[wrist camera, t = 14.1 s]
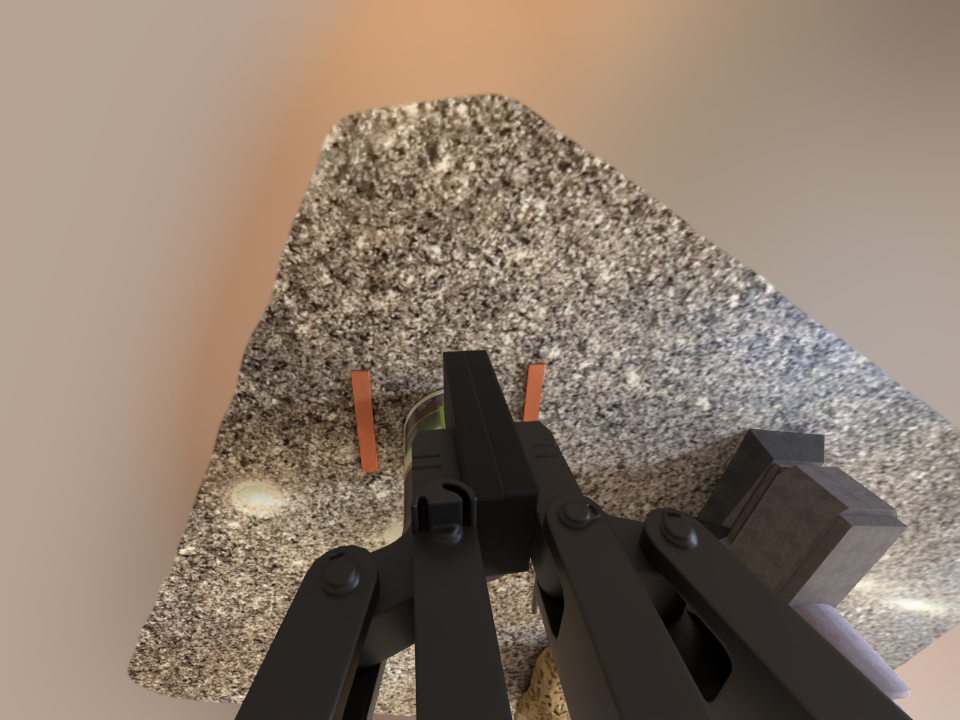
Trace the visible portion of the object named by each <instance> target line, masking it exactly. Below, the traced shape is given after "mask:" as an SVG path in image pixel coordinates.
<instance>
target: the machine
mask: <svg viewBox="0 0 960 720" xmlns="http://www.w3.org/2000/svg"><path fill="white" fill-rule="evenodd" d="M823 463H824V436H822V435H811V434H800V433H789V432H777V431H766V430H755V429H750V430H749V431H748V433H747V435H746V437H745V438H744V440H743V442H742V443H741V445H740V447H739V448H738V450H737V452H736V454H735V455H734V457H733V459H732V460H731V462H730V464H729V465H728V467H727V469H726V471H725V472H724V474H723V476H722V477H721V479H720V481H719V482H718V484H717V486H716V488H715V489H714V491H713V493H712V494H711V496H710V498H709V499H708V501H707V503H706V505H705V506H704V508H703V510H702V511H701V513H700V515H699V517H698V518H697V519H696V520H697V521H698V522H700V523H701V524H702V525H703V526H704V527H705V528H706V529H707V530H708V531H709V532H711V533H712V534H713V535H714V536H715V537H716V538H717V539H718V540H719V541H720V542H721V543H722V544H724V545H725V546H726V547H727V548H728V549H729V550H730V551H731V552H732V553H733V554H734V555H735V556H736V557H738V558H739V559H740V560H741V561H742V562H743V563H744V564H745V565H746V566H747V567H748V568H749V569H751V570H752V571H753V572H754V573H755V574H756V575H757V576H758V577H759V578H760V579H761V580H762V581H763V582H765V583H766V584H767V585H768V586H769V587H770V588H771V589H772V590H773V591H774V592H775V593H776V594H778V595H779V596H780V597H781V598H782V599H783V600H784V601H785V602H786V603H787V604H788V605H789V606H791V607H792V608H793V609H794V610H795V611H796V612H797V613H798V614H799V615H800V616H801V617H802V618H803V619H805V620H806V621H807V622H808V623H809V624H810V625H811V626H812V627H813V628H814V629H815V630H816V631H818V632H819V633H820V634H821V635H822V636H823V637H824V638H825V639H826V640H827V641H828V642H829V643H830V644H832V645H833V646H834V647H835V648H836V649H837V650H838V651H839V652H840V653H841V654H842V655H843V656H845V657H846V658H847V659H848V660H849V661H850V662H851V663H852V664H853V665H854V666H855V667H856V668H857V669H859V670H860V671H861V672H862V673H863V674H864V675H865V676H866V677H867V678H868V679H869V680H870V681H872V682H873V683H874V684H875V685H876V686H877V687H878V688H879V689H880V690H881V691H882V692H883V693H884V694H886V695H887V696H888V697H889V698H890V699H891V700H892V701H893V702H894V703H895V704H896V705H897V706H899V705H898V704H897V702H896V701H895V700H894V699H899V698H906V697H909V696H910V690H911V689H910V688H909V687H908V686H907V685H906V684H905V683H904V682H903V680H902V679H901V678H900V677H899V676H898V675H897V674H896V673H895V672H894V671H893V670H892V669H891V668H890V667H889V666H888V664H887V663H886V662H885V661H884V660H883V659H882V658H881V657H880V656H879V655H878V654H877V653H876V652H875V651H874V650H873V649H872V647H871V646H870V645H869V644H868V643H867V642H866V641H865V640H864V639H863V638H862V637H861V636H860V635H859V634H858V633H857V631H856V630H855V629H854V628H853V627H852V626H851V625H850V624H849V623H848V622H847V621H846V620H845V619H844V618H843V617H842V615H841V614H840V613H839V612H838V611H837V610H836V609H835V608H836V607H837V606H838V604H839V603H840V602H841V601H842V600H843V599H844V598H845V597H846V595H847V594H848V593H849V592H850V591H851V590H852V589H853V588H854V587H855V585H856V584H857V583H858V582H859V581H860V580H861V579H862V578H863V577H864V575H865V574H866V573H867V572H868V571H869V570H870V569H871V568H872V567H873V565H874V564H875V563H876V562H877V561H878V560H879V559H880V558H881V556H882V555H883V554H884V553H885V552H886V551H887V550H888V549H889V548H890V546H891V545H892V544H893V543H894V542H895V541H896V540H897V539H898V538H899V536H900V535H901V534H902V533H903V532H904V531H905V530H906V529H907V526H906V525H905V524H903V523H902V522H901V521H899V520H898V519H897V513H896V510H895V509H894V508H893V507H891V506H890V505H889V504H887V503H886V502H885V501H883V500H882V499H880V498H879V497H878V496H876V495H875V494H874V493H872V492H871V491H869V490H868V489H867V488H865V487H864V486H863V485H861V484H860V483H859V482H857V481H856V480H854V479H853V478H852V477H850V476H849V475H848V474H846V473H845V472H843V471H842V470H841V469H839V468H834V467H821V466H822V465H823ZM899 707H900V706H899ZM900 708H901V707H900ZM901 709H902V708H901ZM902 710H903V709H902ZM903 711H904V710H903ZM904 712H905V711H904Z"/></svg>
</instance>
